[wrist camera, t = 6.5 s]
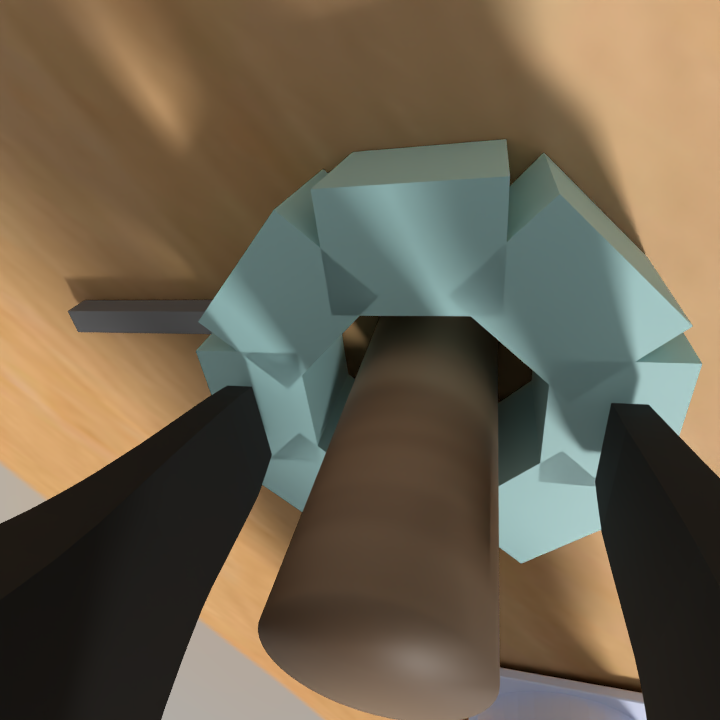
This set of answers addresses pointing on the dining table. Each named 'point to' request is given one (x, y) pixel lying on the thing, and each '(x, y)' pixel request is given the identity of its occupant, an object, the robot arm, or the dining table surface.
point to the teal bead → (455, 298)
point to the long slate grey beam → (140, 316)
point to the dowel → (401, 534)
